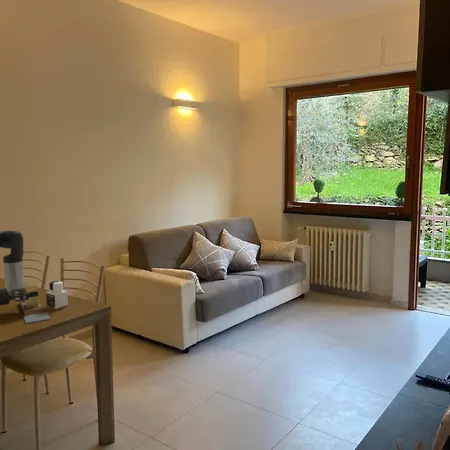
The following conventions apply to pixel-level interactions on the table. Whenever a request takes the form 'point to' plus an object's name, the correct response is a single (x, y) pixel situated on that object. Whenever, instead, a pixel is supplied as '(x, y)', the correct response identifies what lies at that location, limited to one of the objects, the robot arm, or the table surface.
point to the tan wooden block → (32, 300)
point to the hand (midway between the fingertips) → (37, 292)
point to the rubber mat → (36, 317)
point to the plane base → (31, 308)
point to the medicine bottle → (56, 295)
